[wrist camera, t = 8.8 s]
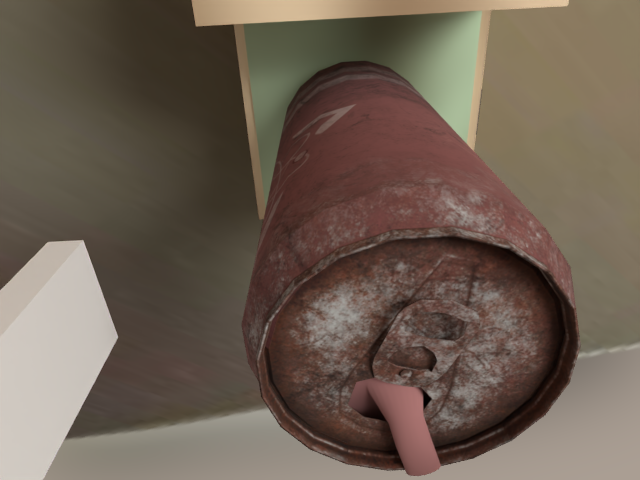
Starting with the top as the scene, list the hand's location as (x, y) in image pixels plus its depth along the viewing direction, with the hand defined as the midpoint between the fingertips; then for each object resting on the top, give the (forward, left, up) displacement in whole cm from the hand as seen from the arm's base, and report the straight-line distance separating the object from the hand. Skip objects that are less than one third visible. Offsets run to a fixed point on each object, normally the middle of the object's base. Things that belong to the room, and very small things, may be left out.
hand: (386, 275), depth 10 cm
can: (0, 0, -11) cm, 11 cm away
